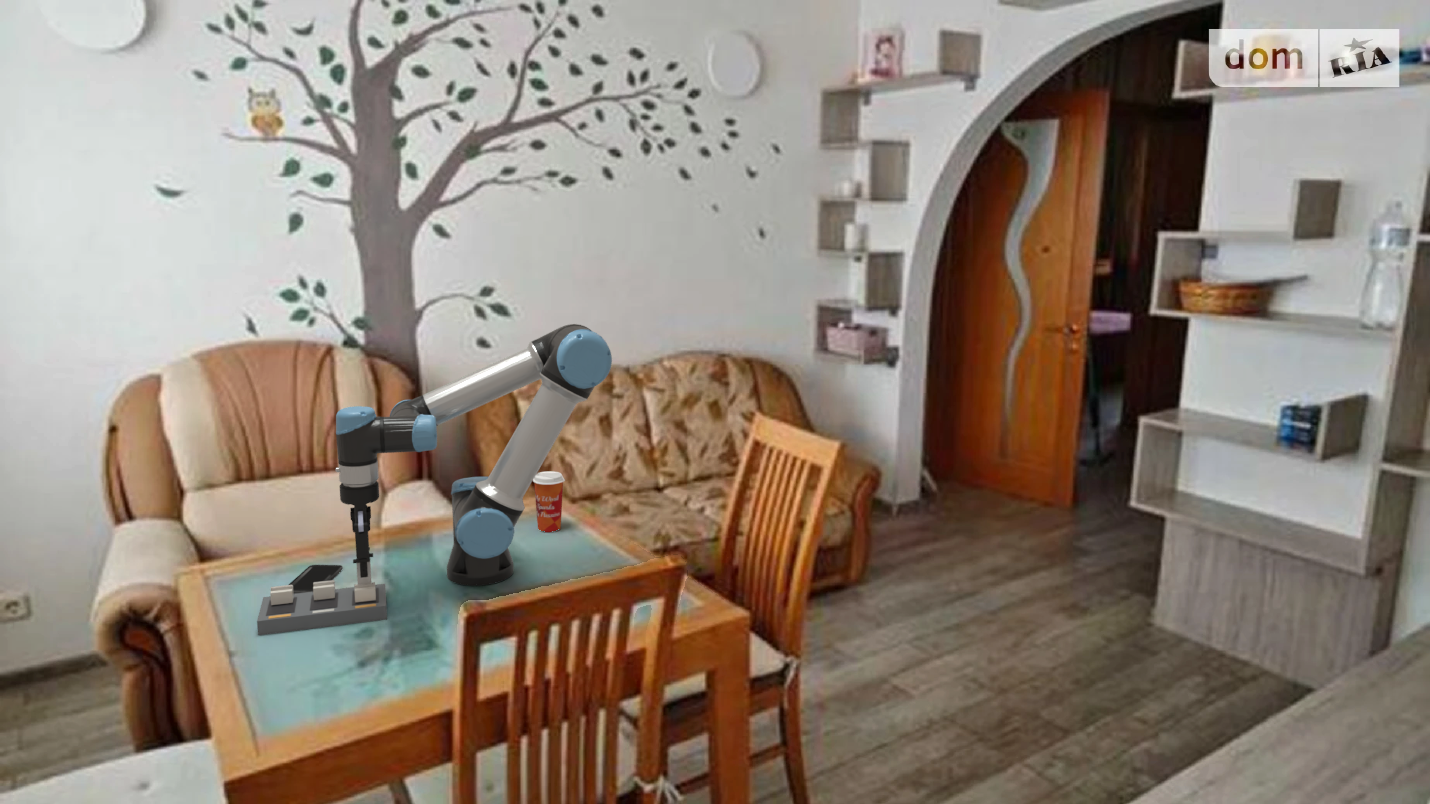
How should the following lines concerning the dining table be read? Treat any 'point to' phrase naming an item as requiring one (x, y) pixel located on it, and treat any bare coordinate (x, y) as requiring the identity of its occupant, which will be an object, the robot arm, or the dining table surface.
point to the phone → (314, 577)
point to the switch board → (320, 611)
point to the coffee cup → (548, 500)
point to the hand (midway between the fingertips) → (364, 589)
